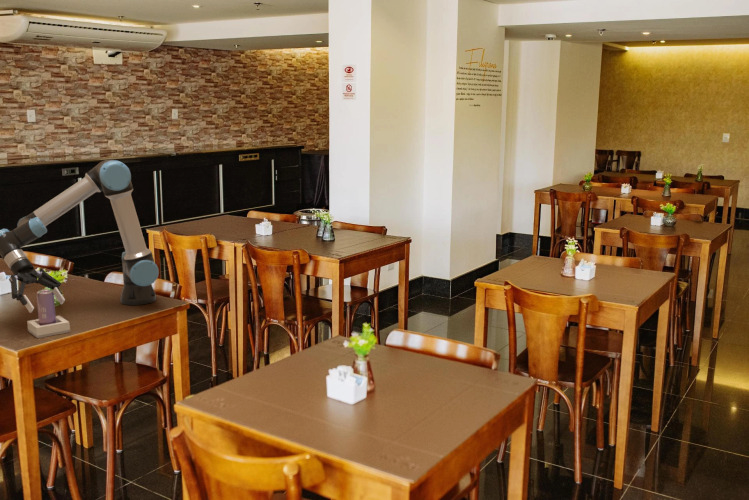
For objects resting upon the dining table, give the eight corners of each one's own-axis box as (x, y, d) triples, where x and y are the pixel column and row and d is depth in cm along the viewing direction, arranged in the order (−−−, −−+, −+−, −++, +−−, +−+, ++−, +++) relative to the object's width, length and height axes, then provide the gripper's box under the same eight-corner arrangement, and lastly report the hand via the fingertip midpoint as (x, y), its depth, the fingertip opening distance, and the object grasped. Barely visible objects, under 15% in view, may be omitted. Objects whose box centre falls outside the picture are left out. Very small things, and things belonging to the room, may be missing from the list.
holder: (60, 325, 292) (59, 315, 291) (70, 332, 283) (69, 322, 282) (28, 330, 284) (27, 321, 284) (37, 338, 275) (36, 327, 275)
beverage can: (59, 327, 286) (56, 289, 283) (51, 331, 280) (47, 293, 277) (45, 326, 287) (41, 289, 284) (36, 331, 281) (33, 293, 278)
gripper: (43, 263, 298) (71, 304, 294) (-15, 276, 277) (14, 320, 272) (50, 252, 294) (79, 293, 290) (-8, 263, 273) (22, 308, 269)
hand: (47, 306), depth 281 cm, fingers open, 13 cm apart
